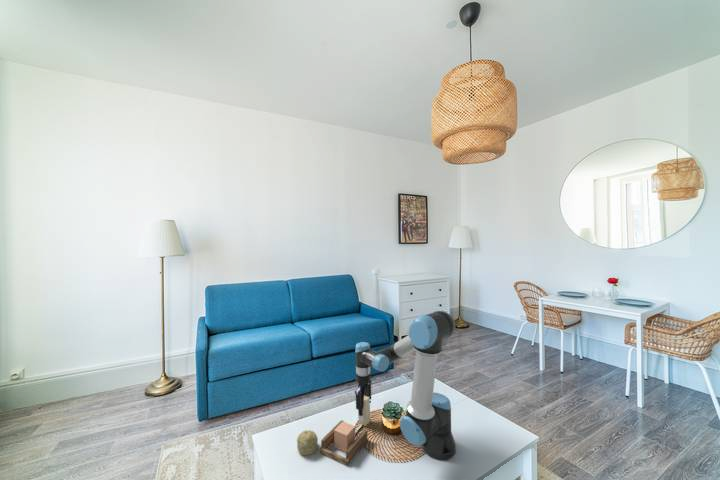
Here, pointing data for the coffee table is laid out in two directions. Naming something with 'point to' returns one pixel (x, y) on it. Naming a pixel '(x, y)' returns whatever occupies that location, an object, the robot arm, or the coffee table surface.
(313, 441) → the decorative object
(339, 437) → the pair of rectangular blocks
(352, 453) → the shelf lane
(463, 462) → the coffee table surface
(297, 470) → the coffee table surface
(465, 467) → the coffee table surface
